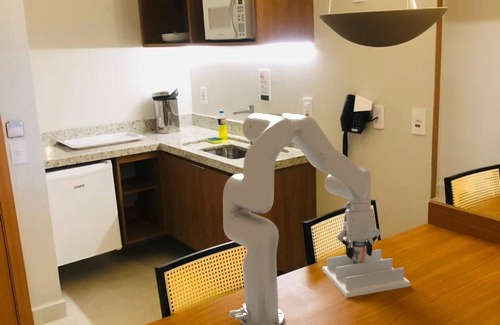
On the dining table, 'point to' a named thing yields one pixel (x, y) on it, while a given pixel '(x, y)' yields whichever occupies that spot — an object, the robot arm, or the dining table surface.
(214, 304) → the dining table surface
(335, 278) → the drying rack
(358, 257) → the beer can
